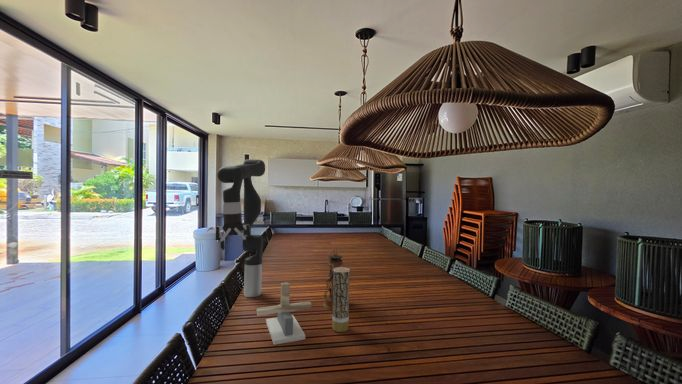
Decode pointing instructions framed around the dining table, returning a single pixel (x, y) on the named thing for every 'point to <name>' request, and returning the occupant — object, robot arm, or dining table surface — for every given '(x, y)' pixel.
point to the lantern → (333, 263)
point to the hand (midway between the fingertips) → (233, 248)
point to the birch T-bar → (284, 303)
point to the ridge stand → (284, 328)
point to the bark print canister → (340, 299)
